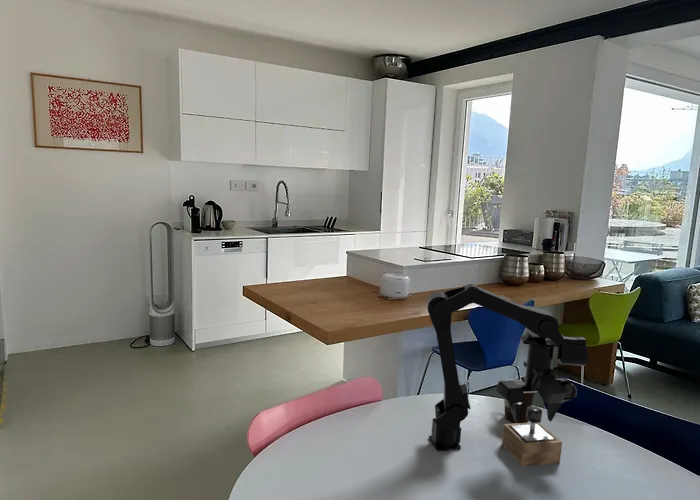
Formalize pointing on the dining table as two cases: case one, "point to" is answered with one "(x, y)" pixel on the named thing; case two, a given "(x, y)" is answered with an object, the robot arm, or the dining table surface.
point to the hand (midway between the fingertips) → (533, 421)
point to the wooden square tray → (531, 447)
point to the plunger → (532, 427)
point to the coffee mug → (526, 403)
